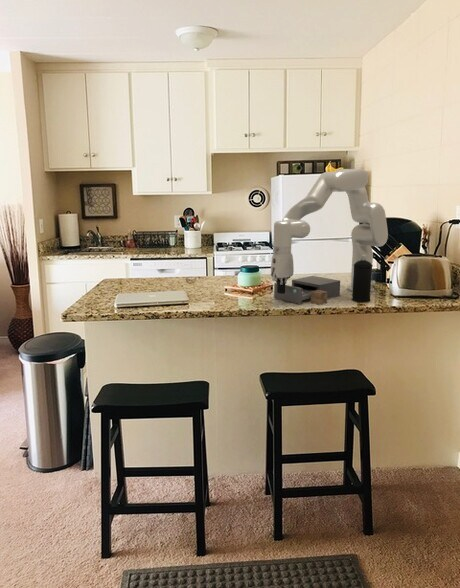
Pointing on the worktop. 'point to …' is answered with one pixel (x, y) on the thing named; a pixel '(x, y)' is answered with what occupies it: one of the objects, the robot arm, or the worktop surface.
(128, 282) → the worktop surface
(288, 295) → the grey drawer
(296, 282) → the grey drawer box
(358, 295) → the aerosol can
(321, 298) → the walnut block
